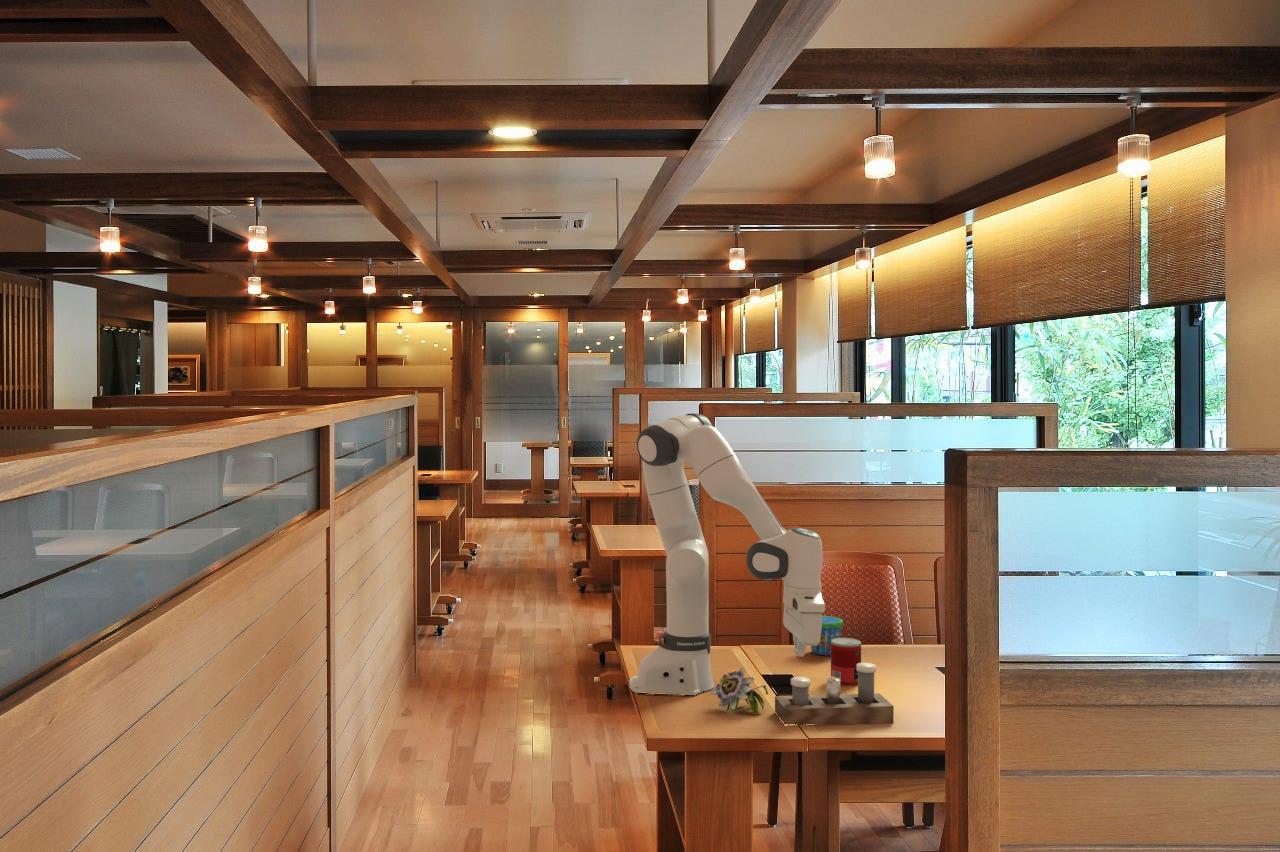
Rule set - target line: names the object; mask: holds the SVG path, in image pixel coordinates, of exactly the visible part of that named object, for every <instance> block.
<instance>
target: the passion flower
mask: <svg viewBox="0 0 1280 852" xmlns="http://www.w3.org/2000/svg"><path fill="white" fill-rule="evenodd" d="M745 674H746V668H744V667H740V669H739V670H738V671H737V670H735V671H731V672H727V674H723V675H722V677H721V678H719V679H720V681H719V683H717V685H716V686H715V687H716V688H715V689H714V688H713V690H712V689H711V694H712V695H714V696H715V695H717V697H718V699H719V705H718V706H719V707H723V710H722V711H723V712H724V711H726V712H728V711H729V710H730V708H731V709H732V710H733V711H734V710H737V708H738V707H739V706H738V705H739V701H740V700H743V701H745V702H746V704H749V706H750V709H751V711H752V713H753V714H754V713H758V711H759V705H760V707H761V710H762V711H764V707H765V702H764V699H763V697H762V696H761V695H760V694H759V693H758V692H757V691H756V689H759V688H763V689H764V690H765V694H766V695H768V694H769V691H768V687H767V685H766V684H765V685H761V686H757V687H755V688H752V686H750V684H752V683H753V682H754V681H755V677H754V676H751V677H745V676H744V675H745ZM758 714H759V713H758Z"/></svg>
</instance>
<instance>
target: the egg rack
mask: <svg viewBox="0 0 1280 852" xmlns="http://www.w3.org/2000/svg"><path fill="white" fill-rule="evenodd" d="M894 711H895V710H894V705H893V704H892V703H891V702H890V701H889V700H887V699H886V698H885V697H884V696H883V695H882V694H881V693H875V692H874V703H866V704H859V703H858V693H848V694H847V693H845V694H842V693H840V704H830V705H827V694H813V695H812V694H811V695H810V694H809V705H795V706H793V705H792V695H777V696H776V695H775V696H774V713H775V712H776V713H777V715H778V716H779V717H780V718H781V720H782V721H783V722H784V724H788V725H789V724H795V725H796V724H797V725H804V724H805V725H806V724H815V725H814V726H836V725H837V726H839V725H869V724H872V725H873V724H894ZM776 713H775V714H776ZM777 715H776V716H777ZM778 716H777V717H778ZM781 720H780V721H781ZM784 724H783V725H784ZM816 724H817V725H816ZM838 724H839V725H838Z"/></svg>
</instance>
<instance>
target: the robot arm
mask: <svg viewBox="0 0 1280 852" xmlns="http://www.w3.org/2000/svg"><path fill="white" fill-rule="evenodd" d="M636 439H637V440H636V450H637V453H638V454H639V456H640V458H641V460H642V470H643V471H642V473H643V480H644V484H645V485H644V486H645V489H646V493H647V497H648V500H649V505H650V507H651V512H652V515H653V518H654V522H655V524H656V528H657V530H658V533H659V536H660V538H661V541H662V544H663V548H664V551H665V555H666V558H665V582H666V585H665V586H666V587H665V588H666V589H665V590H666V631H665V632H663V631H661V630H657V631H656V633H655V637H656V639H657V640H658V646H657V648H655V649H654V650H653V651H651V652H650V653H648V654H647V655H645V656H644V657H643V658H642V659H641V661H640V663H639V666H638V669H637V675H634V676H632V677H631V678H630V679H629V683H628V684H629V685H628V686H629V688H630V690H631V691H632V692H633V693H635V694H638V693H641V692H646V693H649V692H650V693H665V694H685V695H694V696H697V695H699V694H700V692H701V693H703V691H704V692H707V691H710V690H712V689H714V688H715V682H714V679H713V674H712V669H711V662H710V654H711V633H710V631H709V594H710V593H709V592H710V591H709V587H710V586H709V579H710V578H709V577H710V575H709V573H710V572H709V571H710V566H709V565H710V564H709V562H710V560H709V551H708V547H707V543H706V540H705V537H704V534H703V530H702V526H701V524H700V519H699V518H698V517H699V516H698V513H697V511H696V508H695V504H694V500H693V497H692V493H691V489H690V486H689V483H688V482H689V481H688V479H687V476H686V472H685V469H684V467H685V463H686V462H688V463H689V464H690V466H691V468H692V470H693V472H694V473H695V475H696V477H697V479H698V481H699V483H700V484H701V486H702V488H703V489H704V490H705V492H706V493H707V494H708V496H710V497H711V498H712V499H713V500H714V501H717V502H720V503H723V504H726V505H728V506H731V507H732V508H734V509H736V510H738V511H739V512H740V513H742V515H743V516H744V517H745V518H746V520H747V521H748V522H749V525H751V527H752V528H753V530H754V532H755V533H756V535H757V536H758V538H759V539H760V540H759V541H757V542H755V543H753V544H752V545H751V546H750V547H749V548H748V549H747V552H746V556H745V562H746V563H745V564H746V567H747V570H748V571H749V573H750V575H752V576H754V577H755V578H756V579H758V580H764V581H770V580H779V579H781V580H782V581H783V594H782V595H783V596H782V597H783V598H782V601H783V602H782V603H783V604H784V606H783V617H782V623H783V626H784V627H785V628H786V629H787V630H788V632H790V633H791V634H792V640H793V645H794V649H793V651H794V652H793V653H794V654H796V656H797V657H802V658H803V657H805V655H806V647H807V646H808V647H811V646H817V645H818V644H819V642H820V638H821V629H822V616H823V613H825V611H826V610H825V609H826V604H825V602H824V600H823V596H822V595H823V594H822V587H823V586H822V581H821V573H822V570H823V566H824V565H823V563H824V562H823V558H824V557H823V543H822V542H823V541H822V539H821V537H820V535H819V533H816V532H815V531H813V530H810V529H807V528H800V527H792V528H790V529H789V530H786V529H785V528H784V527H783V526H782V524H781V522H780V521H779V519H778V518H777V517H776V515H775V513H774V512H773V510H772V509H771V507H770V506H769V505H768V503H767V501H766V499H764V497H763V496H762V495H761V493H760V492H759V491H758V489H757V488H756V486H755V485H754V483H753V481H752V480H751V479H750V477H749V475H748V474H747V472H746V470H745V469H744V467H743V465H742V463H741V461H740V460H739V458H738V456H737V455H736V453H735V451H734V450H733V448H732V447H731V445H730V443H729V442H728V441H727V440H726V438H725V437H724V436H723V434H722V433H721V432H720V431H719V430H718V429H717V428H716V427H715V426H713V425H712V423H711V422H710V420H709V418H708V417H706V416H705V415H704V414H700V413H696V412H695V413H687V414H685V415H680V416H679V415H677V416H673V417H671V418H667V419H666V420H664V421H661V422H658V423H656V424H650V426H647V427H645V428H644V429H642V431H641V432H639V434H638V436H637V438H636ZM698 693H699V694H698ZM696 694H697V695H696ZM685 695H684V696H685Z"/></svg>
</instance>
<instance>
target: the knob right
mask: <svg viewBox="0 0 1280 852" xmlns="http://www.w3.org/2000/svg"><path fill="white" fill-rule="evenodd" d="M856 670H857V671H858V684H857V694H858V703H859V704H866V703H874V694H875V673H876V672H877V665H876V664H874V663H871V662H870V663H869V662H861V663H858V664H857V665H856Z"/></svg>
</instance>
